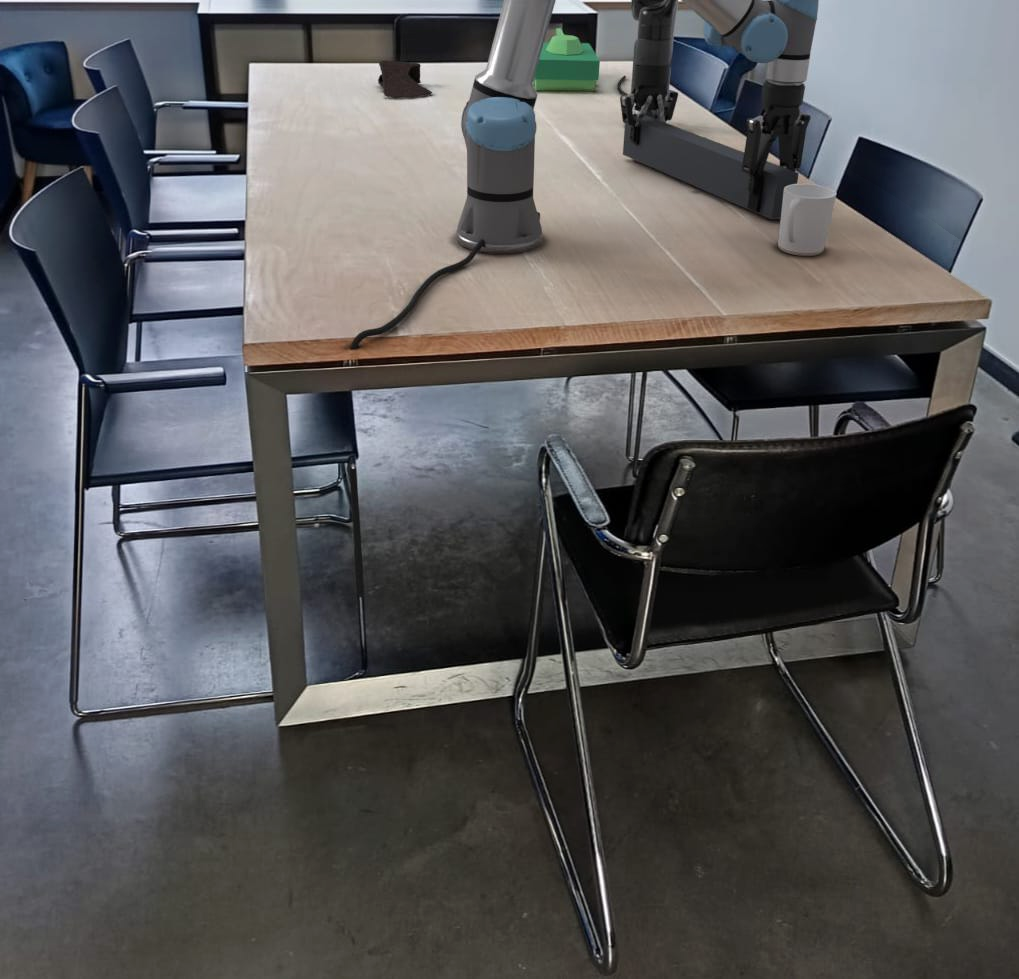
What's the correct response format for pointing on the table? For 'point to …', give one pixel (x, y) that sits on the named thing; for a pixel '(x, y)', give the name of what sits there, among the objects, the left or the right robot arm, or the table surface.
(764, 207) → the beam
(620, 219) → the table surface
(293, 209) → the table surface
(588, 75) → the toy tank
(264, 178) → the table surface
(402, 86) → the axe head
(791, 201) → the mug
